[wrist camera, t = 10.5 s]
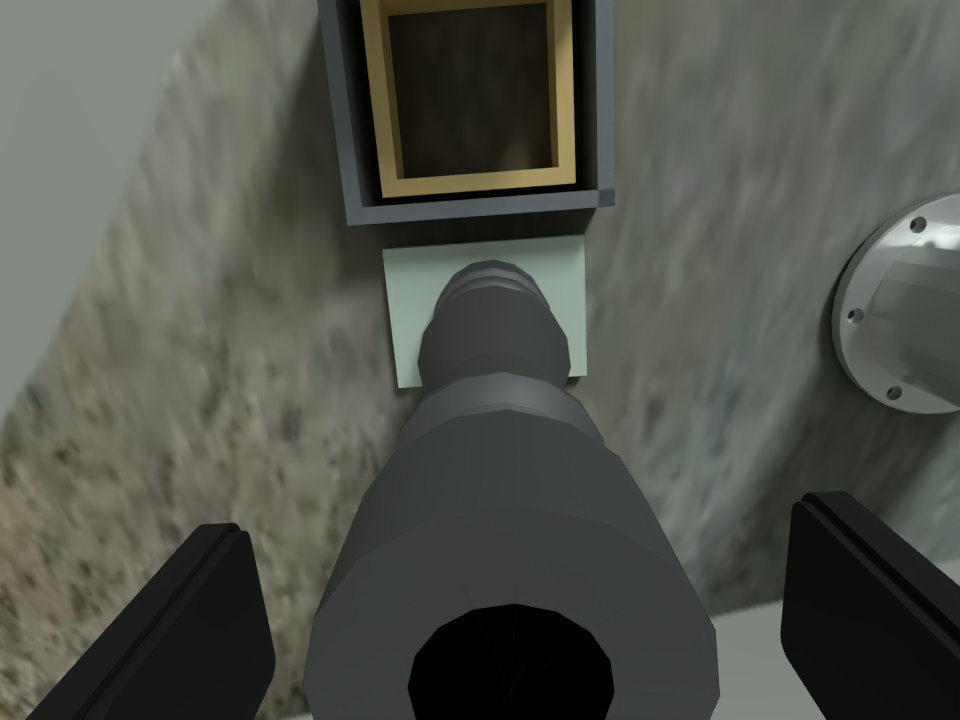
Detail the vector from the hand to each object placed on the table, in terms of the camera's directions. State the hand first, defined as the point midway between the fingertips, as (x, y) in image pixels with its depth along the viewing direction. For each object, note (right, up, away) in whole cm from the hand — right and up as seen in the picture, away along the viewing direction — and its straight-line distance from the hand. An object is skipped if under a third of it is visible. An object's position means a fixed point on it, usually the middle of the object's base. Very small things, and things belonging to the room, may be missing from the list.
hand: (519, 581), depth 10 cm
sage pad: (0, +7, +23) cm, 24 cm away
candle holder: (0, +6, +22) cm, 23 cm away
